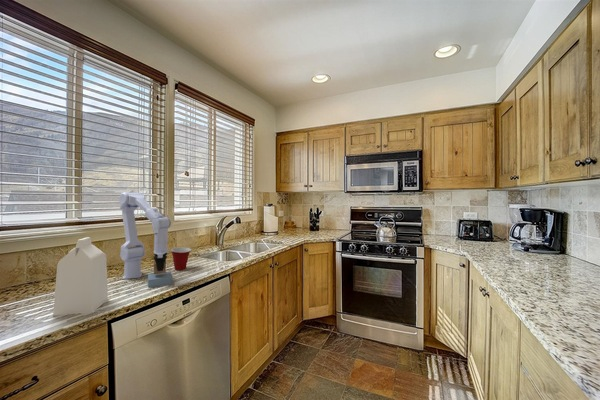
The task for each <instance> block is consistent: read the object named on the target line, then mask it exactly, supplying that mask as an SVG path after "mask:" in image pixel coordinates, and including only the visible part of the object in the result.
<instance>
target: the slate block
mask: <svg viewBox="0 0 600 400" xmlns="http://www.w3.org/2000/svg"><path fill="white" fill-rule="evenodd" d="M173 279H174V278H173V274H172V271H171V270H170V271H166V273H162V274H154V272H153V273H148V274H147V288H148V289H150V288H156V287H164V286H170V285H173Z"/></svg>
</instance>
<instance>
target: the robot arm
mask: <svg viewBox="0 0 600 400" xmlns="http://www.w3.org/2000/svg"><path fill="white" fill-rule="evenodd" d="M118 202H119V203H118V204H119V209H120V210H121V215H122V221H123V222H122V223H123V230H124V239H125V243H123V244H122V245H121V246H120V252H119V255H120V256H119V257H120V258H121V259H122V261H124V266H123V268H124V269H123V271H124V272H123V276H122V278H121V280H129V279H138V278H139V279H140V278H141V277H142V275H143V271H142V259H143V257H144V256H145V255H146V249H145V247H144V243H143V242H142V241H140V240H139V239H138V232H137V231H138V230H137V224H136V217H135V210H137V209H139V208H140V209H141V210H142V211H143V212H144V216H145V217H146V218H147V219H148V220H149V221H150V222H151V227H152V229H153V230H152V231H153V233H154V238H153V239H154V241H153V243H154V244H153V245H154V246H153V254H154V256H153V260H154V262H156V266H157V271H163V267H164V263H165V261H167V258H168V256H167V255H168V253H169V252H170V251H171V249H168V243H169V242H168V240H169V239H168V238H169V237H168V236H169V234H168V233H169V228H170V227H171V225H172V222H171V219H170V217H168V216H164V215H163V214H162V213H161V212H160V211H159V209H158V208H156V207H152V206H151V205H150V204H149V202H147V199H146V197H145V195H144V194H143V193H142V192H125V191H124V192H121V194H120V195H119V197H118Z"/></svg>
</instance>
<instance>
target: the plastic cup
mask: <svg viewBox="0 0 600 400" xmlns="http://www.w3.org/2000/svg"><path fill="white" fill-rule="evenodd" d="M170 251H171V254H172V261H173V266H174V267H173V268H174V271H184V270H186V268H187V264H188V261H189V255H190V253H191V251H192V249H191V248H190V247H183V246H182V247H181V246H180V247H178V246H177V247H173V248H171V249H170Z"/></svg>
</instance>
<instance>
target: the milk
mask: <svg viewBox="0 0 600 400" xmlns="http://www.w3.org/2000/svg"><path fill="white" fill-rule="evenodd" d="M107 265H108V264H107V255H106V253H105V252H104V251H102V250H101V249H100V248H98V247H97V246H96V245H94V244H93V243H92V238H91V237H88V236H87V237H84V238H80V239H77V242H76V244H75V247H73V248H72V249H70V250H69V251H68V253H67V254H66V255H64V256H63V257H61V259H60V260H59V261H58V263H57V266H56V275H55V276H56V278H55V287H54V288H55V291H54V300H53V312H52V317H53V316H55V317H56V316H66V315H67V316H68V314H69V315H79V314H78V313H81V314H90V313H94V312H95V311H96V310H97V309H98V308H100V306H102V305H103V304H104V303H106V302H107V301H108V300H109V295H108V291H109V290H108V273H107V272H108V270H107V269H108V267H107Z"/></svg>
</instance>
